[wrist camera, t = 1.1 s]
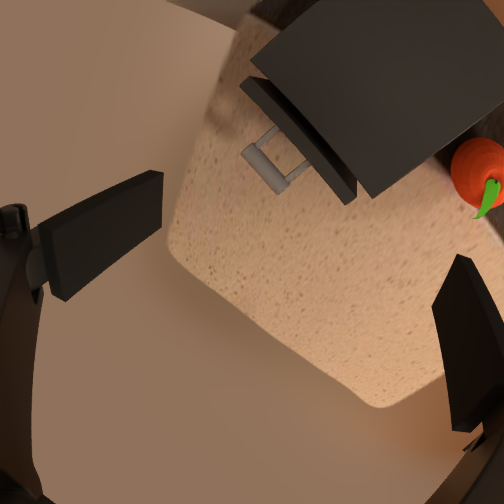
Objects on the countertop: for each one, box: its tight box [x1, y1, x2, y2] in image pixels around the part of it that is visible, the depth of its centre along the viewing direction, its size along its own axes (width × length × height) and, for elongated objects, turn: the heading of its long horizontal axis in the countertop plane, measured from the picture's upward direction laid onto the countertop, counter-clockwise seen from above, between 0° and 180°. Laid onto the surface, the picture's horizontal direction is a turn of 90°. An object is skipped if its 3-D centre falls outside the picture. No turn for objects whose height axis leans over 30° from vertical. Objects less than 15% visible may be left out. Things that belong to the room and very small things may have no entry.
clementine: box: [451, 138, 504, 219], centre depth 24 cm, size 8×7×7 cm
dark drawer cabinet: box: [250, 0, 504, 199], centre depth 21 cm, size 18×14×11 cm
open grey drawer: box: [239, 76, 357, 205], centre depth 24 cm, size 22×12×9 cm, turn 135°
